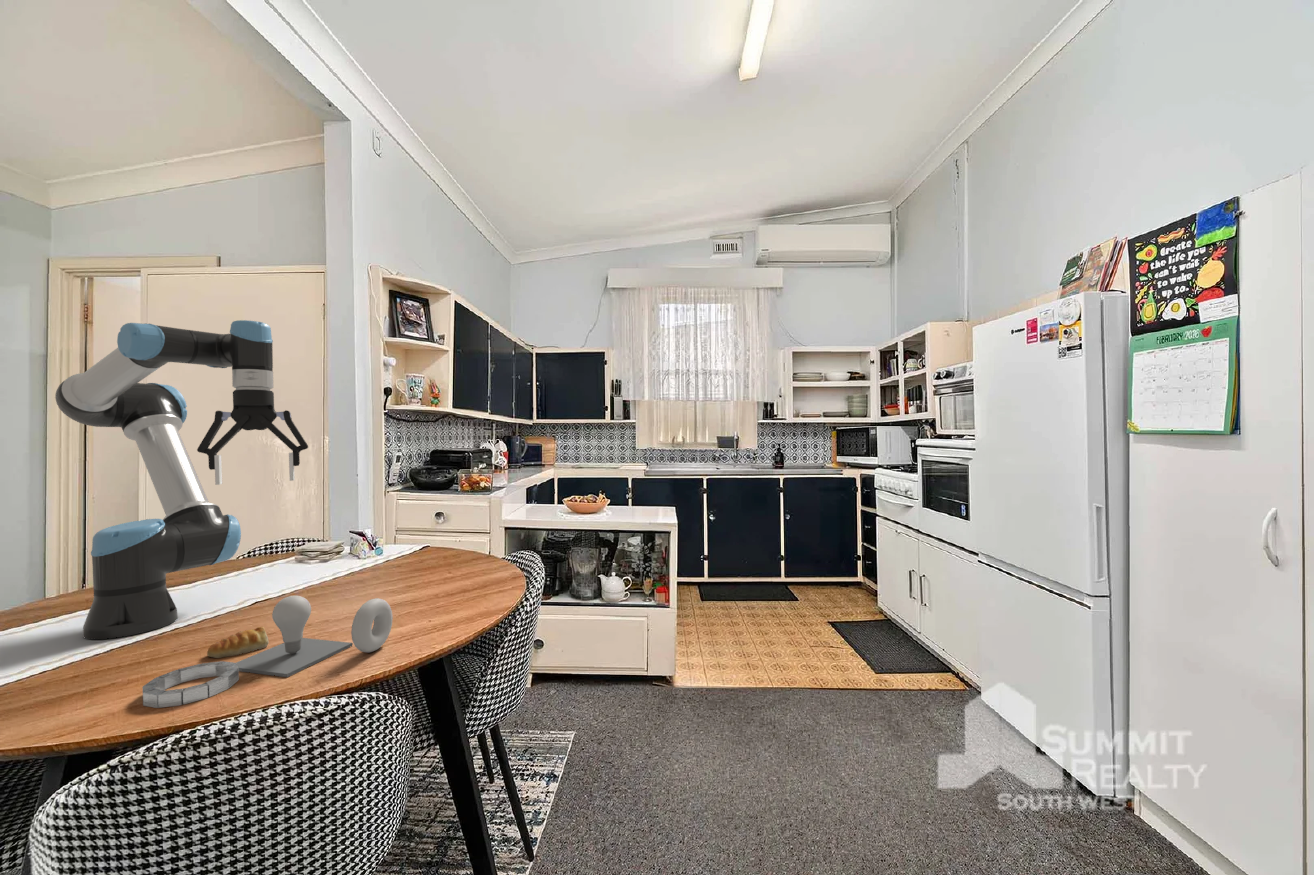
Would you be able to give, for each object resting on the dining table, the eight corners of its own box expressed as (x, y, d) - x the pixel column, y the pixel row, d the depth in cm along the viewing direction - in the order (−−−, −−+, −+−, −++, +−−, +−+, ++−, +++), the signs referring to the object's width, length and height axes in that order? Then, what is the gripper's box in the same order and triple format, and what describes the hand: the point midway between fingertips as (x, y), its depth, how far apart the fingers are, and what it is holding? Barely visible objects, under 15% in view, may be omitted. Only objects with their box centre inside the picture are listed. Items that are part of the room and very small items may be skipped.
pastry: (211, 664, 100) (211, 643, 100) (203, 655, 105) (202, 636, 105) (271, 647, 108) (270, 628, 108) (261, 640, 112) (260, 622, 112)
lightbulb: (291, 646, 106) (290, 591, 106) (320, 647, 105) (318, 591, 105) (265, 660, 100) (263, 601, 100) (294, 661, 99) (292, 601, 99)
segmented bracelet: (123, 702, 86) (123, 690, 86) (204, 669, 97) (204, 658, 97) (178, 711, 83) (177, 698, 83) (255, 676, 94) (254, 665, 94)
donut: (364, 661, 99) (363, 608, 99) (347, 661, 100) (346, 607, 100) (397, 640, 109) (395, 591, 109) (381, 640, 110) (379, 591, 110)
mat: (226, 669, 97) (226, 666, 97) (297, 640, 111) (297, 637, 111) (287, 677, 94) (287, 673, 94) (352, 645, 107) (352, 642, 107)
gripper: (177, 387, 114) (181, 487, 114) (316, 389, 126) (319, 479, 126) (187, 390, 120) (190, 484, 121) (318, 391, 133) (321, 477, 133)
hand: (256, 482), depth 123 cm, fingers open, 13 cm apart
